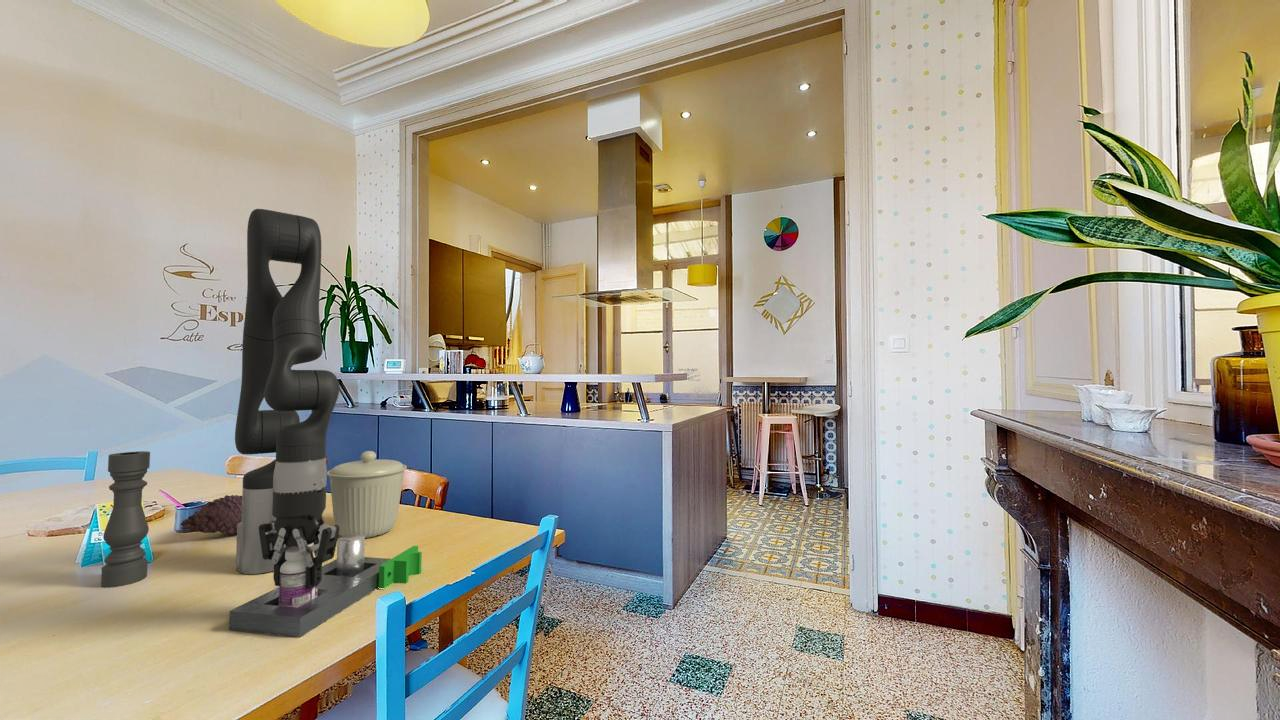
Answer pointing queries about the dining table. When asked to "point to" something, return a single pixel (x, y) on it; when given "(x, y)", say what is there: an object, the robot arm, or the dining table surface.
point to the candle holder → (126, 520)
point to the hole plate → (298, 621)
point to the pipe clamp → (400, 567)
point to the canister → (366, 495)
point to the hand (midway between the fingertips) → (297, 585)
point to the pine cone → (217, 516)
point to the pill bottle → (294, 580)
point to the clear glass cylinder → (350, 555)
